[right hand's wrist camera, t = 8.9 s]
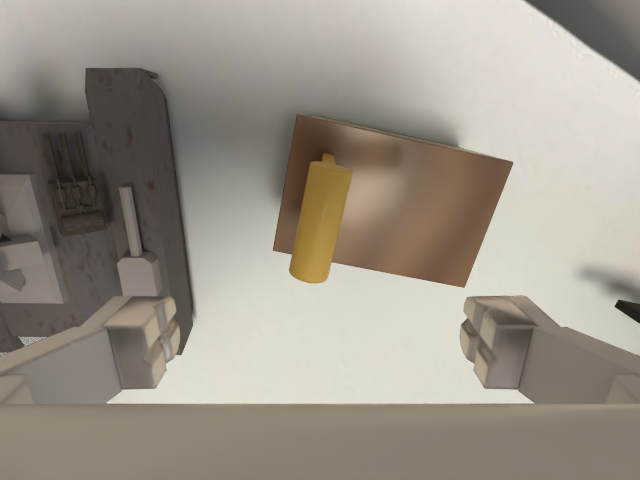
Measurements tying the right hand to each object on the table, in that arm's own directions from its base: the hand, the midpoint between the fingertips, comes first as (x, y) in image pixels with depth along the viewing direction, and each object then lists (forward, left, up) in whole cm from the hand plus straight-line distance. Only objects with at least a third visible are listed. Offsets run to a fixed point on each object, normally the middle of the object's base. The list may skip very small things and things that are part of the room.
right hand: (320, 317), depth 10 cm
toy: (-24, 0, -25) cm, 35 cm away
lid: (+5, -2, -16) cm, 17 cm away
